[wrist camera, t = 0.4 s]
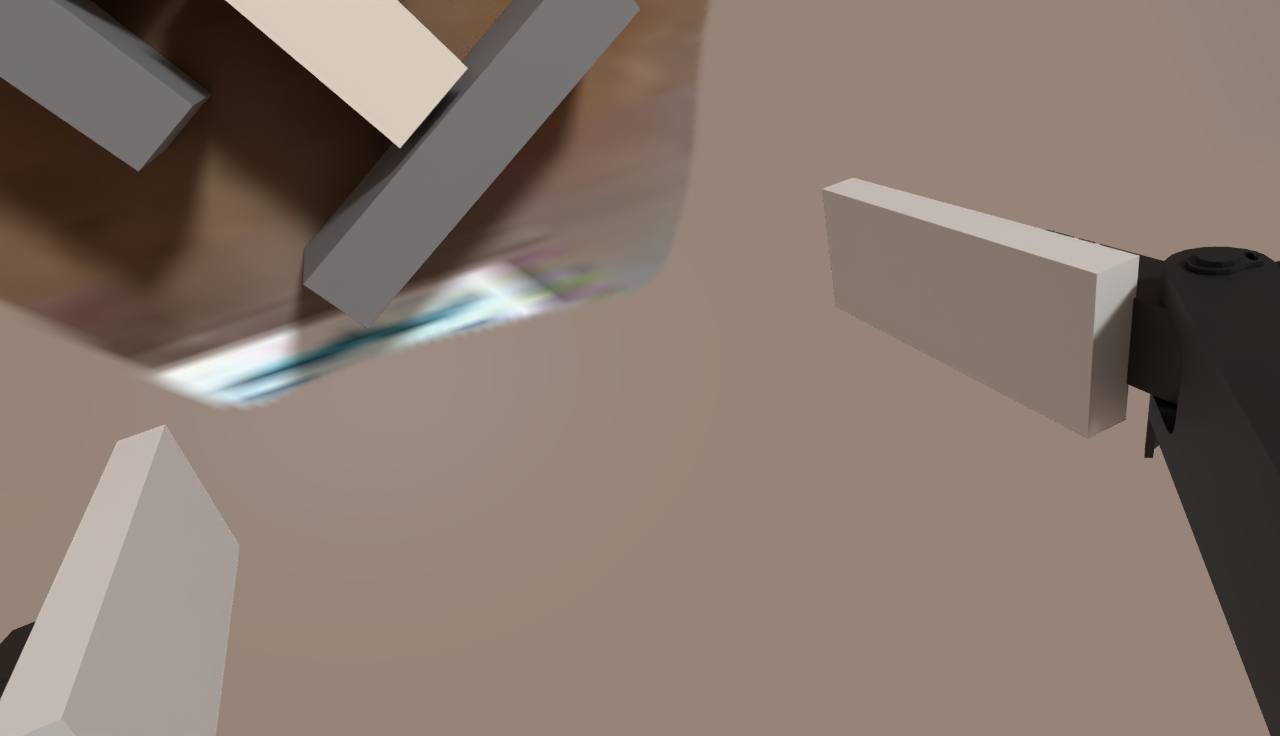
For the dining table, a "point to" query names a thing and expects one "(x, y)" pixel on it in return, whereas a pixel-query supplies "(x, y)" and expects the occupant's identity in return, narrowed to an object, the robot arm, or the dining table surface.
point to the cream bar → (364, 55)
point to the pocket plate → (400, 180)
